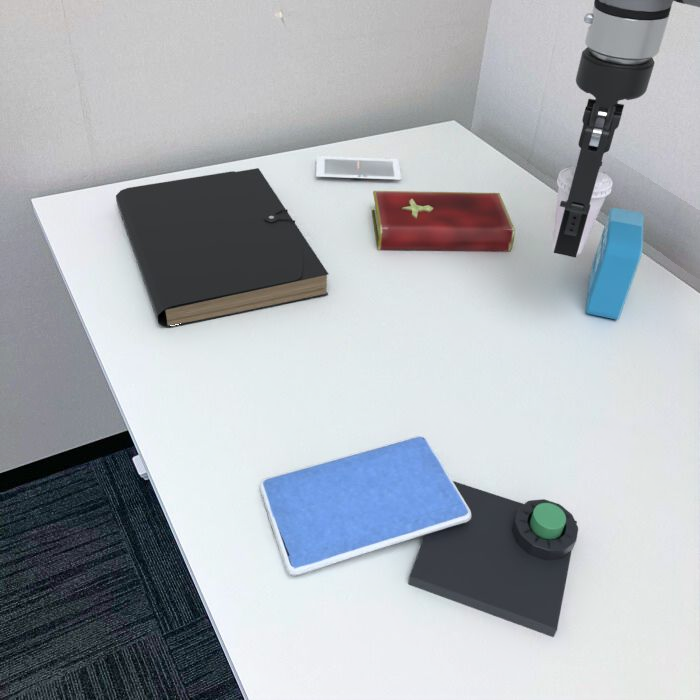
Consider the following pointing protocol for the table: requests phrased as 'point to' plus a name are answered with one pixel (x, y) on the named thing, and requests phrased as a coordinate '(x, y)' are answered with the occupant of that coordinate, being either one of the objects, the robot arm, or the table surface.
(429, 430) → the table surface
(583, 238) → the smoothie
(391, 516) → the tablet
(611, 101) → the robot arm
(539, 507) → the button
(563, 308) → the table surface
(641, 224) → the data package
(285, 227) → the black photo album
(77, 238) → the table surface
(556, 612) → the black button base
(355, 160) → the white picture frame
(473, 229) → the hardcover book
